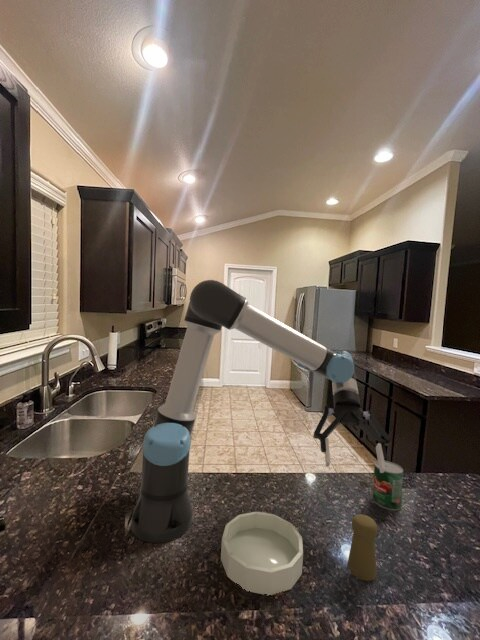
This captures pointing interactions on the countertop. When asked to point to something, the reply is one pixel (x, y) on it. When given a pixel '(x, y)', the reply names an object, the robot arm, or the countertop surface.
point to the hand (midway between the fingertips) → (355, 468)
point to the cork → (363, 548)
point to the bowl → (262, 553)
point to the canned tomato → (388, 486)
